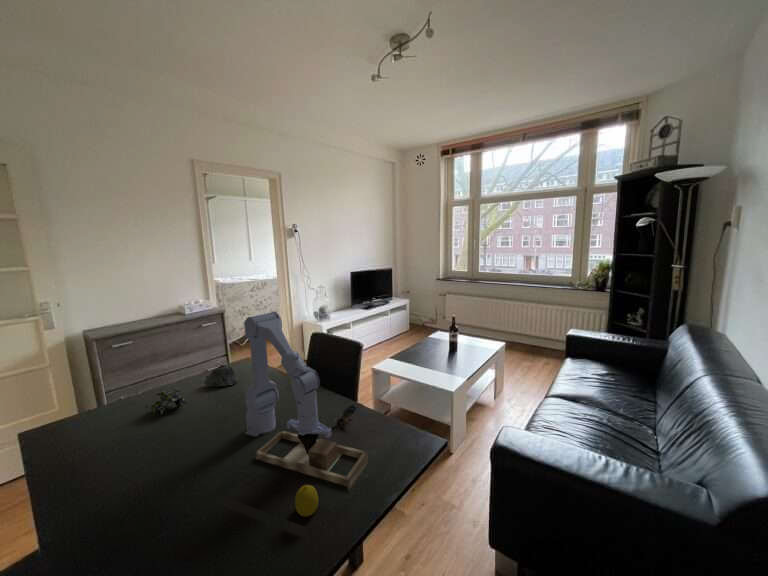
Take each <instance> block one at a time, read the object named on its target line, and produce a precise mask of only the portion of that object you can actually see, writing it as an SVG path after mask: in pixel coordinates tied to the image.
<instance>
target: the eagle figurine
mask: <svg viewBox="0 0 768 576" xmlns="http://www.w3.org/2000/svg"><path fill="white" fill-rule="evenodd" d="M356 410H357V407H356V405H354V404H352V405H348V407H346V409H344V410H343V412H342V416H341V417H340V416H339V417H336V418H335V419H334V420H333V424H337V423H339V424H340V425H339V426H337V427H338V428H341V429H345V428H346V427H347V426H348V425H352V421H351V420H352V418H351V416H353V415H354V413H356Z"/></svg>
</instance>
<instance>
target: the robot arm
mask: <svg viewBox="0 0 768 576" xmlns="http://www.w3.org/2000/svg"><path fill="white" fill-rule="evenodd" d="M243 324H244V336H245V339H247V340H249V346H250V347H249V349H250V359H251V370H252V377H253V382H252V383H251V384H250V385H249V387H248V388H246V390H245V391H246V392H245V399H244V401H245V406H246V408H247V410H246V413H245V422H246V429H247V431H246V432H245V434H246V435H247V436H248V435H249V436H252V437H255V438H256V437H258V436H259V435H261V434H267V433H269V432H271V431H273V430H275V428H276V426H277V424H276V423H277V421H276V414H275V413H276V412H275V411H276V410H275V406H277V402H279V398H280V395H279V391H278V388H277V384H276V382H274V381H273V380H271V379H270V374H269V364H268V362H269V361H268V352H267V340H268V341H269V342H270V343H271V345H272V346H273V347H274V348H275V350H276V351H277V352H278V354H279V356H281V360H280V364H281V365H282V367H283V368H284V371H285V372H286V374H287V376H288V377H289V378H290V380H291V383H290V387H291V389H292V392H293V396H294V400H296V408H297V409H296V410H297V419H293V418H291V419H289V420H288V421H287V422H286V427H287V429H292V428H293V429H294V430H295V431H297V434H298V438H299V439H300V441H301V442H302V444H303V445H304V447H305V450H306V452H307V455H309V454H308V450H309V449H310V448H311V447H312V446H313V445H314V444H315V443H316V440H317V439H318V437H319V435H320V436H324V437H325V438H327V439H329V438H330V437H331V436H332V431H333V430H332V428H331V427H328V426H326V425H325V424H323V423H321V422H320V421H319V414H318V400H317V399H318V398H317V396H318V395H317V389H318V388H320V384H321V383H320V382H321V379H320V377H319V375H318V373H317V371H316V370H315V369H314V368H311V367H310V366H308V364H307V363H305V361H304V359H303V358H302V356H301V354H300V353H299V352H298V351H297V350H293V349H292V347H291V345H290V342H289V341H288V340H287V338H286V335H285V333H284V331H283V329H282V328H283V322H282V319H281V316H280V314H279V313H278V312H276V311H271V312H266V313H262V314H259V315H258V314H257V315H253V316H248V317H246V319H245V320H244V323H243Z"/></svg>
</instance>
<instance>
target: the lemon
mask: <svg viewBox="0 0 768 576" xmlns="http://www.w3.org/2000/svg"><path fill="white" fill-rule="evenodd" d="M294 506H295V510H296V512H297V514H299V515H300V516H301V517H304V518H306V517H307V518H308V517H311V516H312V515H313V514H315V512H316V510H317V508H318V506H319V495H318V492H317V490H316V488H315V487H314V486H313V485H312V484H311V485H310V484H304V485H302V486H301V487H300V488H299V489H298V490H297V491H296V495H295V497H294Z"/></svg>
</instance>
